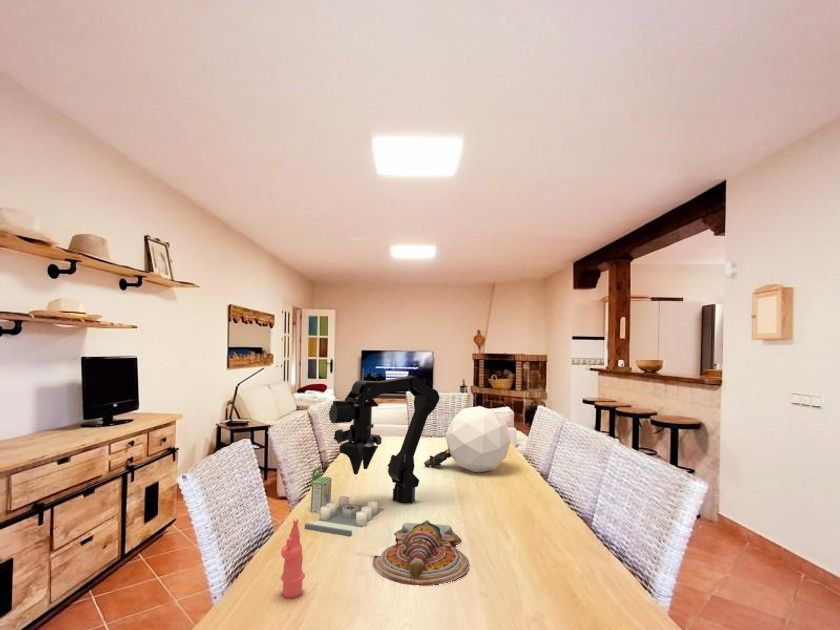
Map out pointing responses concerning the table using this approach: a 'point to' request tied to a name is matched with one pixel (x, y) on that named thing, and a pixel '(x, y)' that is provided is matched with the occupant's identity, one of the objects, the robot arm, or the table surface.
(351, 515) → the star tealight holder
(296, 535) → the figurine
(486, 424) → the light fixture
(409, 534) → the decorative mask
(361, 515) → the spacers
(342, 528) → the slate board
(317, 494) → the ink box
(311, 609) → the table surface
